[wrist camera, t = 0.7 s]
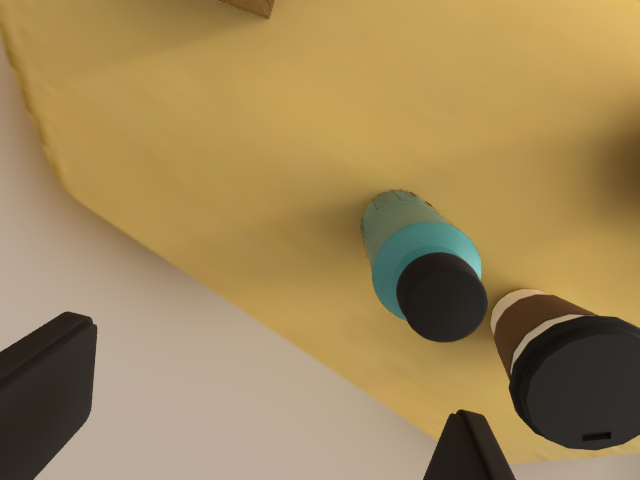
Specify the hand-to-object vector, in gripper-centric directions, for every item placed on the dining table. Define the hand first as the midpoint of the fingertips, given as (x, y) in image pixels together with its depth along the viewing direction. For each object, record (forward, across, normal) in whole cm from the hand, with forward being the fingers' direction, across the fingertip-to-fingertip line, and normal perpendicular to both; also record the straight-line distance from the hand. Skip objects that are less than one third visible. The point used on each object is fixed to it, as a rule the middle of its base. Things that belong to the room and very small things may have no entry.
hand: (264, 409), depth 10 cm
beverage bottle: (+28, -7, -1) cm, 29 cm away
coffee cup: (+28, -22, +6) cm, 36 cm away
